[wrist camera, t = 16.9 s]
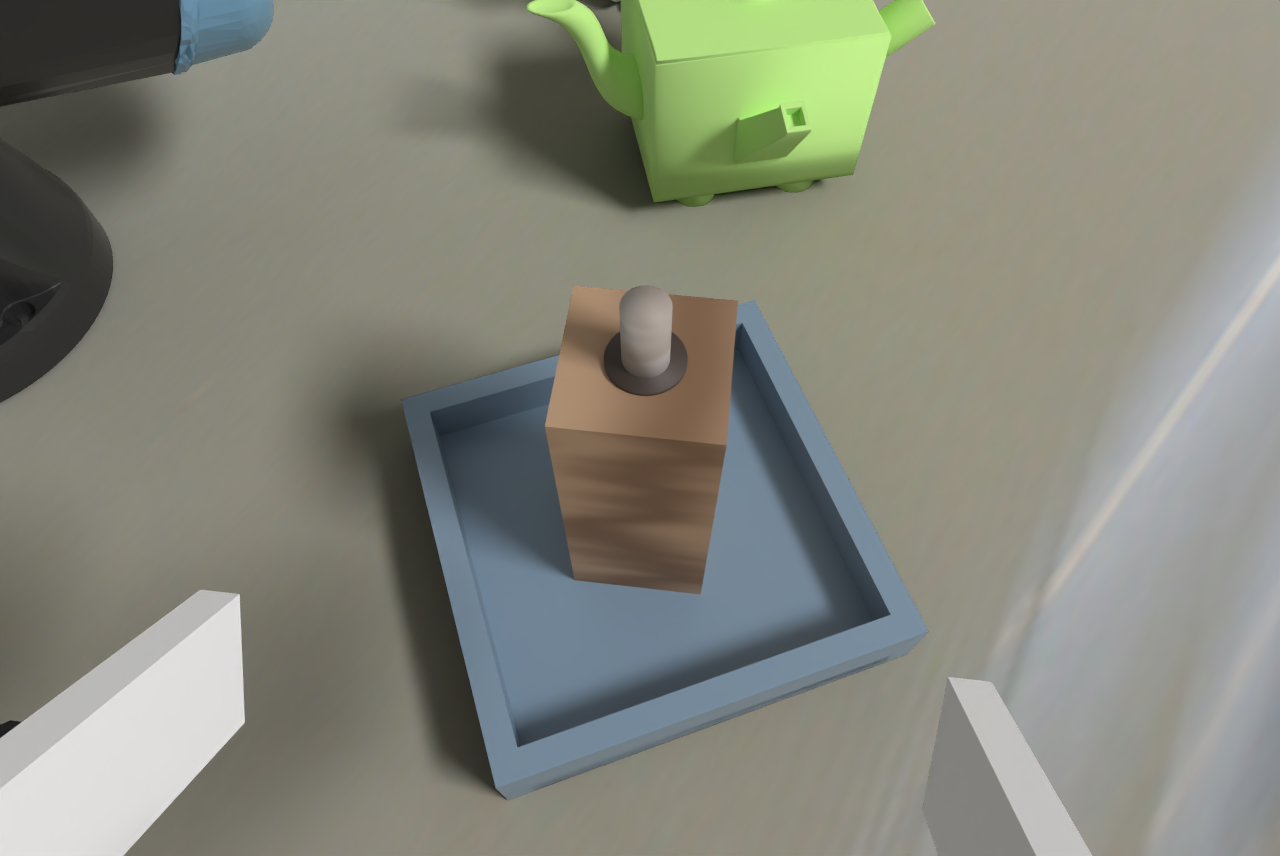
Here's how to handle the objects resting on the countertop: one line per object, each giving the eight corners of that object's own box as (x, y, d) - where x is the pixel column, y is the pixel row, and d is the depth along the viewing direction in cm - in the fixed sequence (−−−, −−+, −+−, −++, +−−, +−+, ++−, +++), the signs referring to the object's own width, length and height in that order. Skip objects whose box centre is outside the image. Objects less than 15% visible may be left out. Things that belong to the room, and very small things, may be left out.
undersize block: (574, 580, 34) (535, 375, 21) (592, 468, 36) (567, 227, 24) (700, 594, 34) (735, 395, 21) (710, 481, 36) (746, 243, 24)
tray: (507, 800, 31) (495, 788, 28) (417, 435, 38) (401, 399, 36) (906, 654, 33) (928, 631, 31) (747, 339, 41) (754, 300, 38)
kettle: (544, 176, 47) (519, -23, 37) (678, 37, 53) (686, -164, 43) (790, 290, 43) (833, 100, 33) (905, 125, 49) (970, -76, 39)
